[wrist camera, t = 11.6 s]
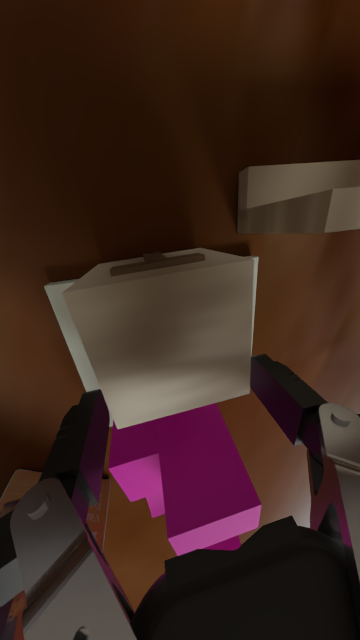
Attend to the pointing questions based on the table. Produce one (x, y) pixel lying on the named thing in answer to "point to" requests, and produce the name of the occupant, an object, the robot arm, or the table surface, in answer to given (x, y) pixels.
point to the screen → (299, 198)
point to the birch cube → (166, 331)
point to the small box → (8, 502)
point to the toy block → (188, 478)
